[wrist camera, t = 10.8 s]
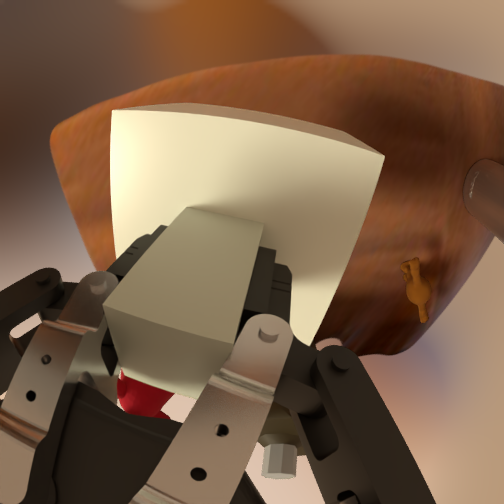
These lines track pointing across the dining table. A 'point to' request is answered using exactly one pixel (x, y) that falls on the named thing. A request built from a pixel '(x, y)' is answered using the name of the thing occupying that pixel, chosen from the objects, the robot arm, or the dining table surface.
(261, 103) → the dining table surface
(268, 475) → the bottle
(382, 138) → the dining table surface
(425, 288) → the toy figurine
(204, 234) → the cover
